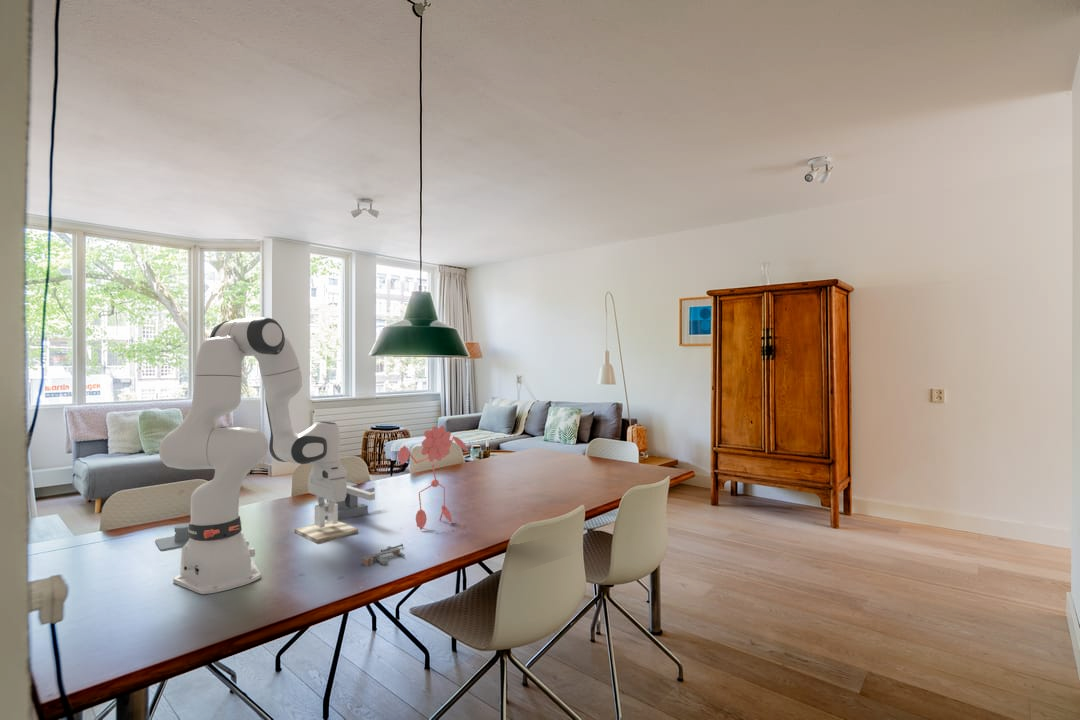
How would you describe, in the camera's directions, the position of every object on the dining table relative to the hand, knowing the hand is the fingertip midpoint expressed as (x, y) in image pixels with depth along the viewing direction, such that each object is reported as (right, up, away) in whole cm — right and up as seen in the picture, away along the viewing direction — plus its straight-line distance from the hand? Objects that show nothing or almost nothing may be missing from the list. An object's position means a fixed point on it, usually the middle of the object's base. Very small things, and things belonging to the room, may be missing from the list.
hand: (326, 510), depth 176 cm
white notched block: (0, -5, 0) cm, 5 cm away
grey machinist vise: (+5, -7, +18) cm, 20 cm away
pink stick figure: (+37, -7, +5) cm, 38 cm away
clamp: (+27, -8, -23) cm, 36 cm away
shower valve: (-41, -8, -8) cm, 43 cm away
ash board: (0, -7, 0) cm, 7 cm away
